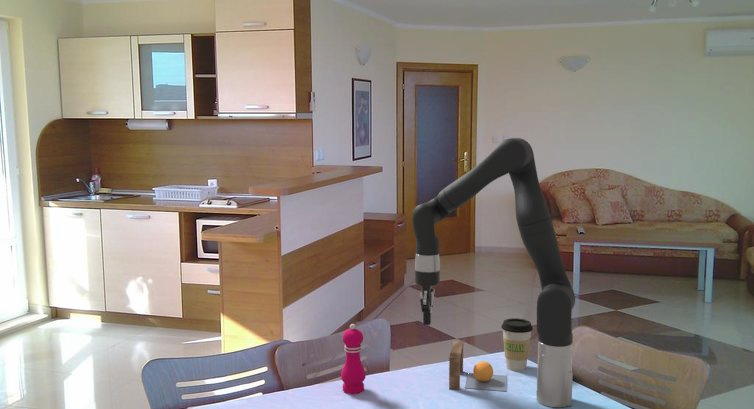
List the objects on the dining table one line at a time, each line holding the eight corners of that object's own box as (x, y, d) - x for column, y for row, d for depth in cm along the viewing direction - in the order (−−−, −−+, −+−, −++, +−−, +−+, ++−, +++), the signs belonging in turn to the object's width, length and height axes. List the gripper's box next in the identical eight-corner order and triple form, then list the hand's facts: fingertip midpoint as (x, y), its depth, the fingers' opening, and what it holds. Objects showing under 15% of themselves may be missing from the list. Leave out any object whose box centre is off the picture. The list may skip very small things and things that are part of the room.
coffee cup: (494, 365, 204) (495, 320, 203) (519, 360, 208) (519, 316, 207) (513, 375, 195) (514, 328, 194) (538, 370, 200) (539, 324, 198)
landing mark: (506, 376, 195) (506, 375, 195) (506, 391, 183) (506, 390, 183) (467, 373, 197) (467, 372, 197) (464, 388, 186) (464, 387, 186)
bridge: (463, 371, 199) (463, 341, 198) (459, 390, 184) (459, 358, 183) (453, 370, 200) (453, 340, 199) (449, 389, 185) (449, 357, 184)
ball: (492, 377, 194) (494, 359, 193) (492, 386, 188) (493, 366, 187) (473, 375, 195) (474, 357, 194) (472, 383, 189) (473, 364, 188)
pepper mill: (362, 396, 181) (362, 328, 178) (338, 394, 182) (337, 326, 180) (368, 386, 188) (367, 320, 185) (344, 384, 189) (343, 319, 187)
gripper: (437, 273, 183) (437, 331, 185) (442, 264, 196) (441, 318, 198) (411, 272, 184) (411, 330, 186) (418, 263, 197) (418, 317, 199)
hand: (427, 324), depth 192 cm, fingers closed
